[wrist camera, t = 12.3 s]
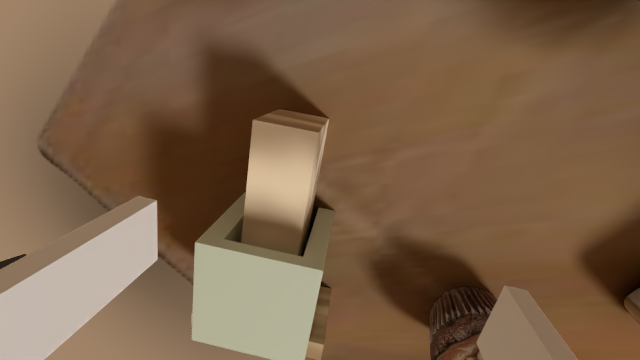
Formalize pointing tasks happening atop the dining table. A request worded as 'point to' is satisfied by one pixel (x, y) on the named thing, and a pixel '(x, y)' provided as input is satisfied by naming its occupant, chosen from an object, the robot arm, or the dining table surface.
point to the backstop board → (317, 324)
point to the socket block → (256, 289)
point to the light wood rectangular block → (282, 180)
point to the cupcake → (459, 323)
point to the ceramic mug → (633, 304)
